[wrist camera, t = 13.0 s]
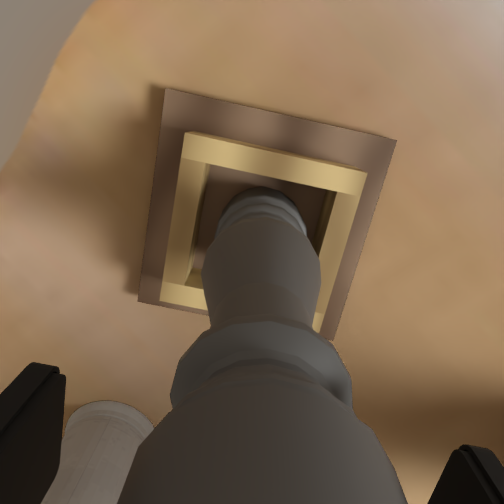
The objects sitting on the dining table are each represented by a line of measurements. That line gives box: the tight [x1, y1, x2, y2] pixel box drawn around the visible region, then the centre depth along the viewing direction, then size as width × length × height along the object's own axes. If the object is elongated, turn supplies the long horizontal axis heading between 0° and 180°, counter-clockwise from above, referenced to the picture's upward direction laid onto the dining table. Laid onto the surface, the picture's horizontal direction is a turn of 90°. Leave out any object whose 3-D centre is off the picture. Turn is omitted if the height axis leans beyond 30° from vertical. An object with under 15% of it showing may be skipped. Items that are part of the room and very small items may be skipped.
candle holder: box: [117, 187, 408, 504], centre depth 17 cm, size 6×6×25 cm
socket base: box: [137, 88, 397, 341], centre depth 28 cm, size 16×16×5 cm
